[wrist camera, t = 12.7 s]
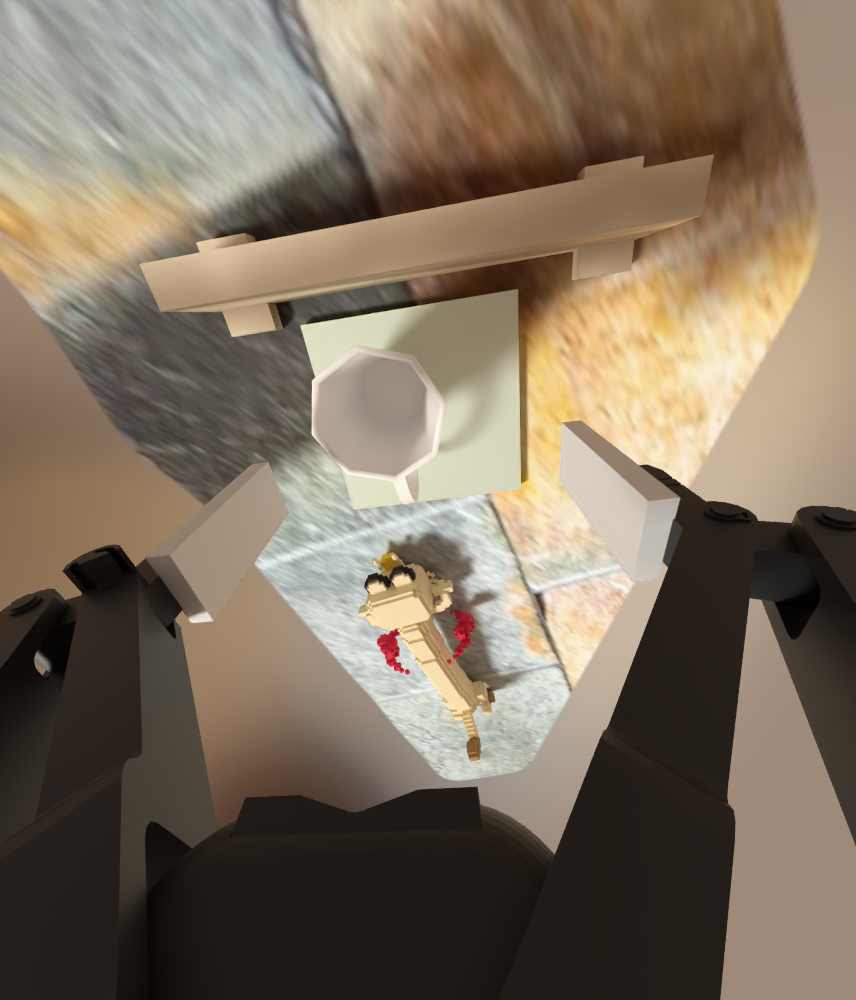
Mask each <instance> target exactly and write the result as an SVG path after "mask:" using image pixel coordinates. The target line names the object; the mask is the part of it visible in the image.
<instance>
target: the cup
mask: <svg viewBox="0 0 856 1000" xmlns="http://www.w3.org/2000/svg"><path fill="white" fill-rule="evenodd" d="M446 407H447V404H446V402H445V401H444V399H443V398H442V396H441V395H440V393H439V392H438V390H437V389H436V387H435V386H434V384H433V383H432V381H431V380H430V378H429V377H428V375H427V374H426V372H425V371H424V369H423V368H422V366H421V365H420V363H419V362H418V360H417V359H416V357H415V356H414V355H410V354H404V353H399V352H394V351H388V350H383V349H377V348H372V347H367V346H361V345H356V344H355V345H354V346H352V347H351V348H350V349H349V350H348V351H346V352H345V353H344V354H343V355H342V356H341V357H339V358H338V359H337V360H336V361H335V362H333V363H332V364H331V365H330V366H329V367H327V368H326V369H325V370H324V371H323V372H322V373H320V374H319V375H318V376H317V377H316V378H314V379H313V380H312V435H313V437H314V438H315V439H316V440H317V441H318V442H319V443H320V444H321V445H322V447H323V448H324V449H325V450H326V451H327V452H328V453H329V454H330V456H331V457H332V458H333V459H334V460H335V461H336V462H337V463H338V464H339V466H340V467H341V468H342V469H343V470H344V471H345V472H346V473H347V474H349V475H356V476H362V477H368V478H374V479H381V480H387V481H393V483H394V486H395V489H396V492H397V494H398V497H399V499H400V501H401V502H402V503H404V504H408V503H413V502H416V501H417V499H418V495H419V480H418V472H417V468H419V467H420V466H422V465H423V464H425V463H426V462H428V461H429V460H431V459H432V458H434V457H436V456H437V453H438V448H439V443H440V438H441V432H442V427H443V422H444V417H445V412H446Z"/></svg>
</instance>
